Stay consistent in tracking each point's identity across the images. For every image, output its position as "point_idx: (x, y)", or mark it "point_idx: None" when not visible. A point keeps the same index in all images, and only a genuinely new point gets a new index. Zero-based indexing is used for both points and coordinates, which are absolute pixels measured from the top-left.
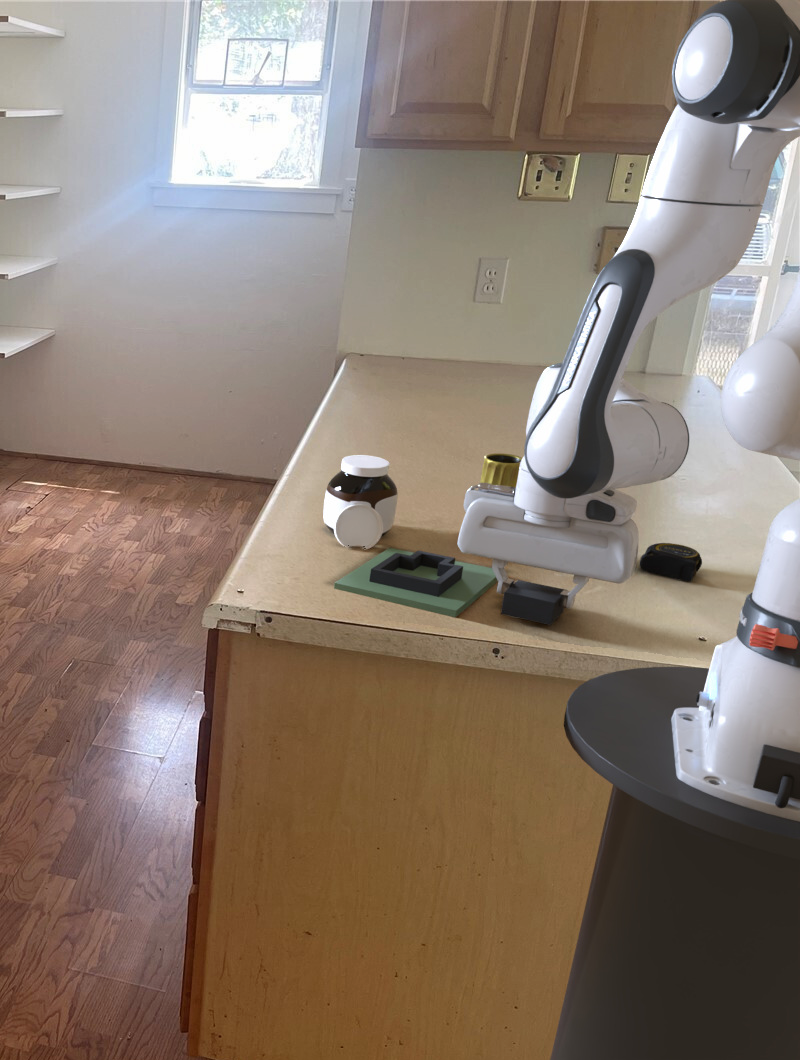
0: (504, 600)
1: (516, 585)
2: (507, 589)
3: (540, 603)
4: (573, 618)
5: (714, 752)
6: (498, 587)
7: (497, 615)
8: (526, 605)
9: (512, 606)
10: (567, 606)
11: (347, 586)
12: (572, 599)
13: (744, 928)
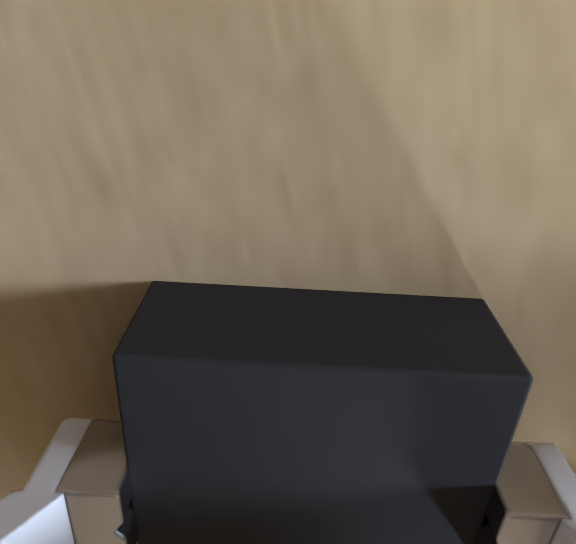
0: (494, 331)
1: (450, 535)
2: (510, 439)
3: (231, 341)
4: (57, 364)
5: None
6: (567, 472)
7: (506, 126)
8: (331, 322)
9: (422, 310)
10: (82, 422)
11: None
12: (39, 473)
13: None
